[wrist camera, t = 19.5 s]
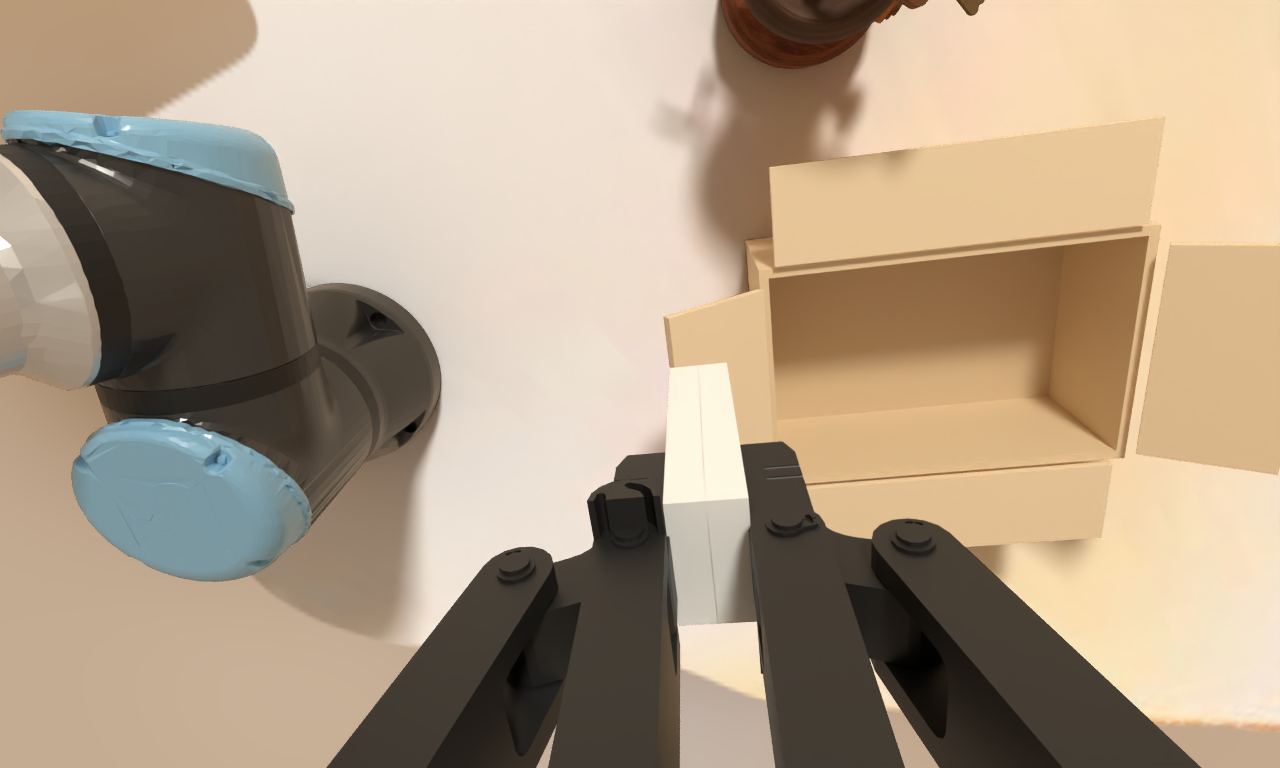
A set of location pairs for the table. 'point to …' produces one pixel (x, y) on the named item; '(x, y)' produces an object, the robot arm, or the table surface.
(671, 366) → the flap
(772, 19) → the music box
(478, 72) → the table surface
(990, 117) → the table surface
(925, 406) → the carton
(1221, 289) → the flap
